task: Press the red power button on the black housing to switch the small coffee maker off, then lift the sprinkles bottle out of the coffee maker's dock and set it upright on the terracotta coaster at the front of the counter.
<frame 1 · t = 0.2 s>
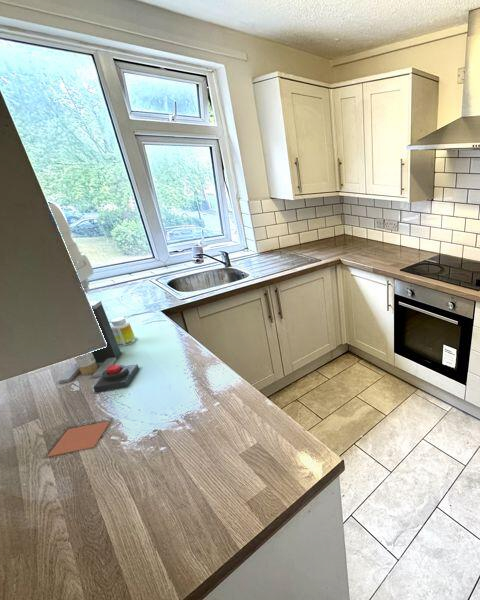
hand: (78, 297, 103), 24 cm above the countertop, tool pointing down, fingers open, 8 cm apart
power button: (114, 369, 102), point 5 cm above the countertop, slide at 0.1 cm
supplement bottle: (127, 343, 125), on the countertop
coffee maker: (90, 371, 108), on the countertop
coaster: (81, 439, 82), on the countertop
sprinkles bottle: (90, 372, 108), resting in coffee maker
power switch: (119, 381, 103), on the countertop
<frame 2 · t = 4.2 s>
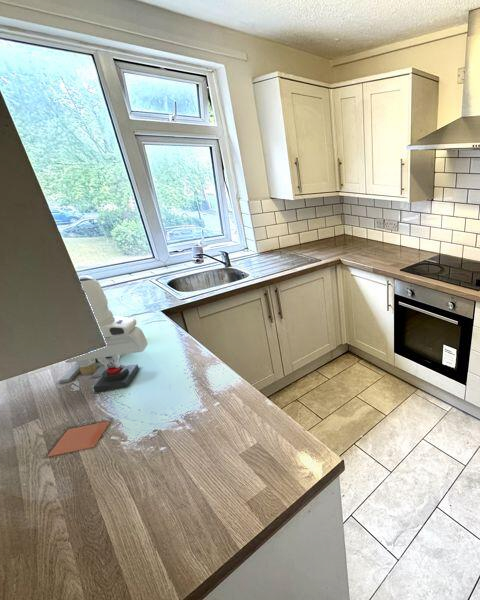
hand: (113, 367, 101), 5 cm above the countertop, tool pointing down, fingers closed, pressing on power button
power button: (114, 369, 102), point 4 cm above the countertop, slide at 0.0 cm, touching gripper
everything else where it was.
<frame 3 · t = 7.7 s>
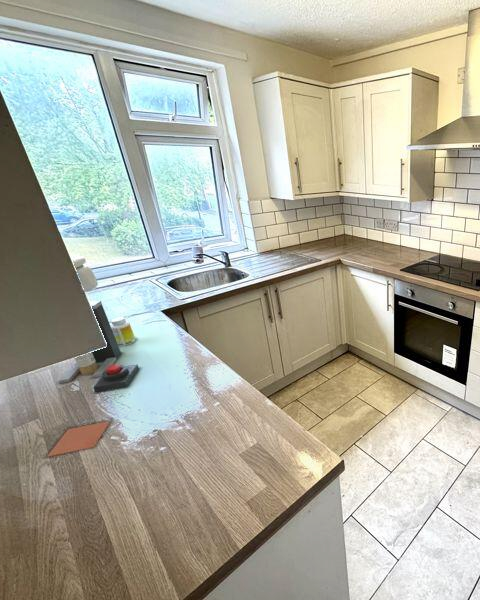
hand: (61, 306, 98), 24 cm above the countertop, tool pointing down, fingers closed
power button: (114, 369, 102), point 5 cm above the countertop, slide at 0.1 cm
everything else where it was.
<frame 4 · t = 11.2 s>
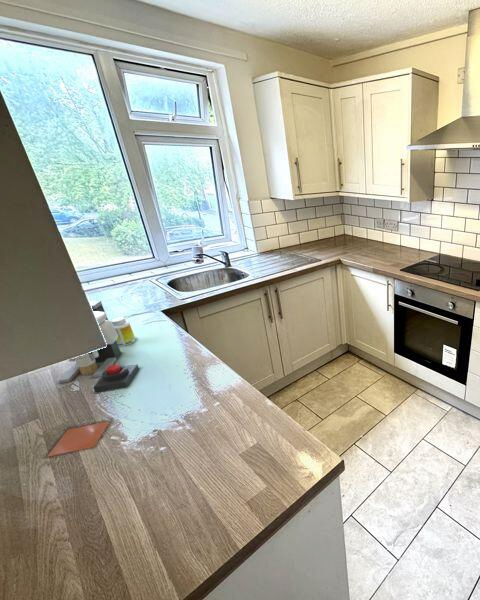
hand: (84, 358, 106), 5 cm above the countertop, tool pointing down, fingers closed on sprinkles bottle, 4 cm apart
sprinkles bottle: (90, 372, 108), resting in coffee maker, touching gripper
everything else where it was.
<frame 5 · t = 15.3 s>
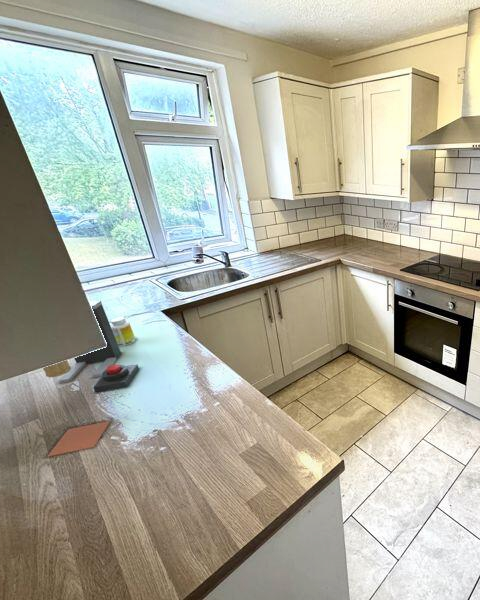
sprinkles bottle: (59, 373, 80), point 16 cm above the countertop, touching gripper
everything else where it was.
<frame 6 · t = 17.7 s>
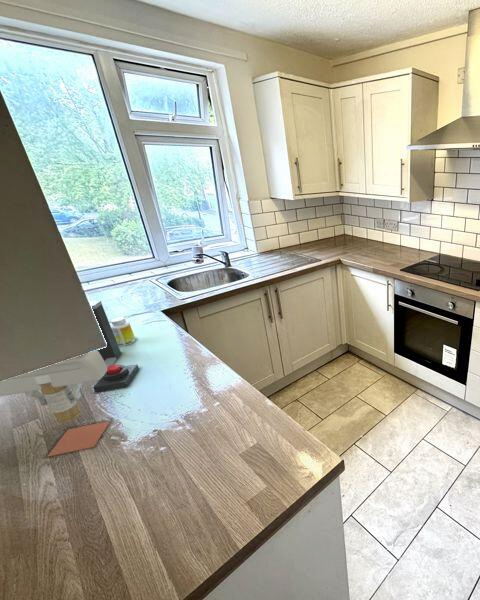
hand: (61, 400, 77), 12 cm above the countertop, tool pointing down, fingers closed on sprinkles bottle, 4 cm apart
sprinkles bottle: (70, 417, 79), point 7 cm above the countertop, touching gripper
everything else where it was.
when the fingers open (6 cm above the countertop, at t = 19.6 s): sprinkles bottle stays where it is, resting on coaster.
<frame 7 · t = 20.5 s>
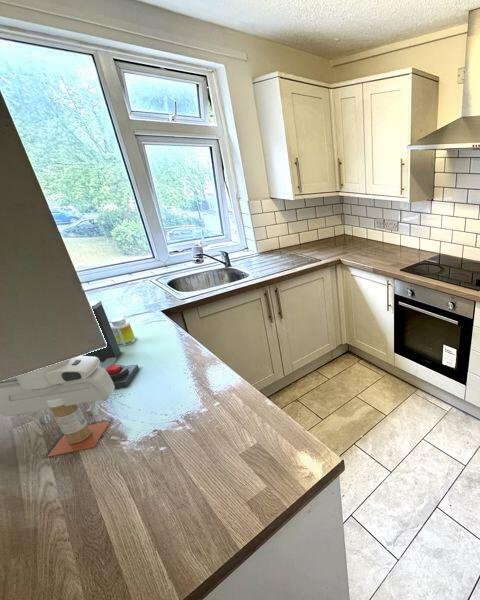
hand: (70, 418, 79), 7 cm above the countertop, tool pointing down, fingers open, 8 cm apart
sprinkles bottle: (80, 438, 82), resting on coaster
everything else where it was.
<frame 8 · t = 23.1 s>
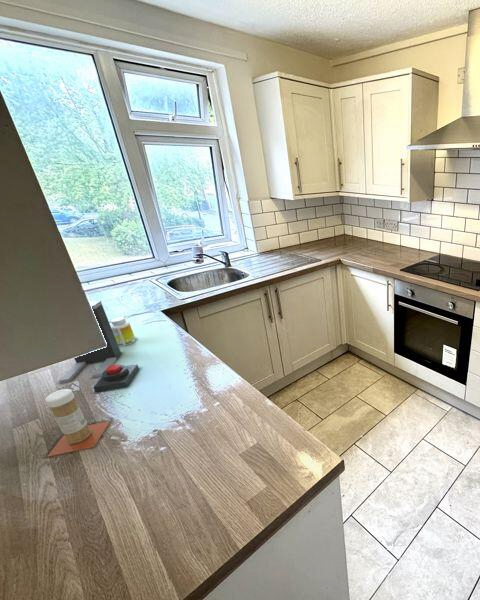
nothing on the countertop moved.
at the end: power button pushed in 0.9 cm at the most during the clip, back to where it started at the end; sprinkles bottle inside the target area on the coaster (0.1 cm from its centre), point 0.4 cm above the coaster's base; sprinkles bottle tilted 0° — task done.
